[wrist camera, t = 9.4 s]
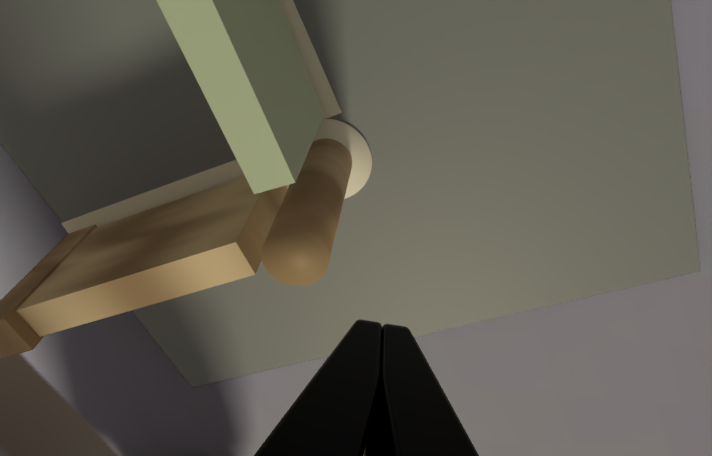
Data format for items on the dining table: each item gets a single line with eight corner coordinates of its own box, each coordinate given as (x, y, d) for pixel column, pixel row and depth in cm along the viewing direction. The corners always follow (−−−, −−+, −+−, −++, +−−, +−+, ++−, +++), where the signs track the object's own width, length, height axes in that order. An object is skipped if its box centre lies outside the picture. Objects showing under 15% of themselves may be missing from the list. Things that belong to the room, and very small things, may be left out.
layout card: (194, 381, 27) (191, 389, 27) (-143, -53, 17) (-157, -52, 17) (695, 264, 21) (701, 272, 20) (604, -534, 11) (611, -551, 10)
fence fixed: (98, 256, 23) (-1, 369, 18) (72, 223, 22) (-40, 330, 17) (361, 169, 20) (339, 276, 14) (342, 126, 19) (310, 222, 14)
